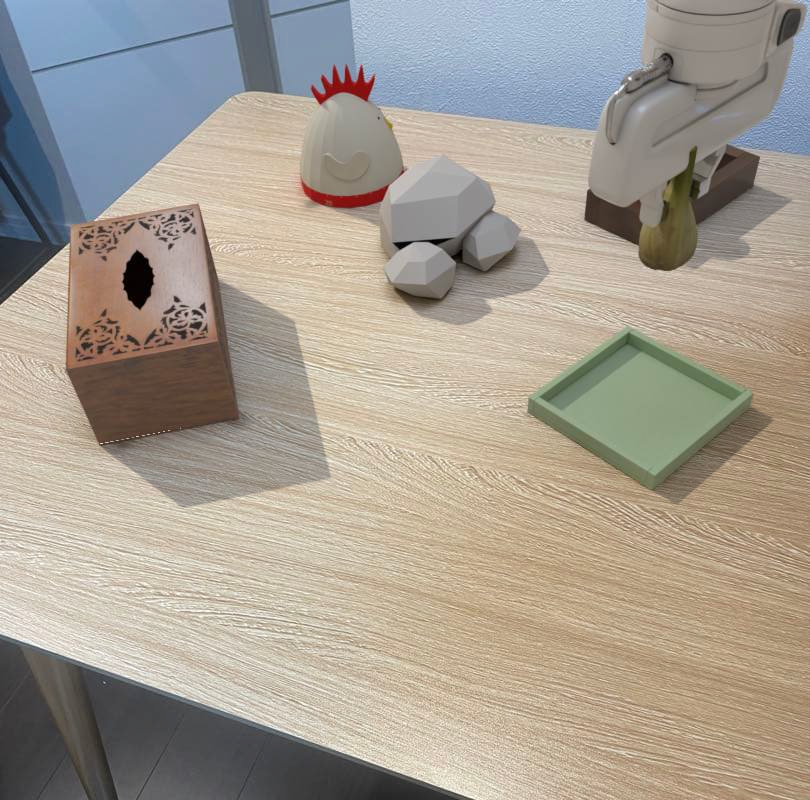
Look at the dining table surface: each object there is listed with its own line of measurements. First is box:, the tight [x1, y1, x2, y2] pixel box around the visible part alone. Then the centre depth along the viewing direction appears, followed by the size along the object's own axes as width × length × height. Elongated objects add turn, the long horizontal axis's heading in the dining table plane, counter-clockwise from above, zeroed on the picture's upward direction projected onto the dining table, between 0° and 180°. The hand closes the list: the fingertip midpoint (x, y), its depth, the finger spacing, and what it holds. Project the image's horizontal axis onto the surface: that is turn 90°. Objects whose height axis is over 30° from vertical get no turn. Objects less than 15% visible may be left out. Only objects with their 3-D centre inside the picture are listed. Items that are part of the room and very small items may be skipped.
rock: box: [378, 153, 522, 300], centre depth 108 cm, size 18×20×10 cm
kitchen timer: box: [299, 63, 405, 209], centre depth 118 cm, size 14×14×15 cm
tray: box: [527, 325, 755, 491], centre depth 91 cm, size 16×16×2 cm
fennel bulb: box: [637, 146, 699, 272], centre depth 76 cm, size 6×5×12 cm
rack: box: [583, 143, 761, 246], centre depth 114 cm, size 11×20×4 cm, turn 133°
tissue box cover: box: [65, 202, 240, 446], centre depth 99 cm, size 26×14×10 cm, turn 12°
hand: (673, 208), depth 77 cm, fingers closed on fennel bulb, 4 cm apart
